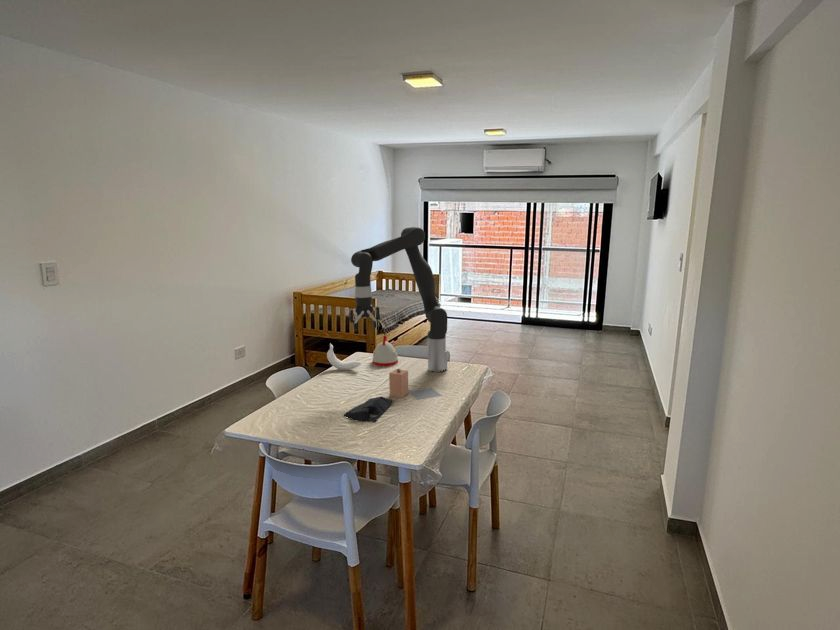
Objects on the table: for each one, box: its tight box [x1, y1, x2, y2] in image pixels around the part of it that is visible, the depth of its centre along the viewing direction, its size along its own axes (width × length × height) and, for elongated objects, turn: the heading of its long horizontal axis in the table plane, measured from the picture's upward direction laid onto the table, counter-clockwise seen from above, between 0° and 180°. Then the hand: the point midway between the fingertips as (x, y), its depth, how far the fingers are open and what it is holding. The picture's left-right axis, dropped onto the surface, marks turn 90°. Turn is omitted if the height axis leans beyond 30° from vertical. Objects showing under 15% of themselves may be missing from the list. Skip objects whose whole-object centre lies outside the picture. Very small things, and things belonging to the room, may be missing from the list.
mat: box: [408, 386, 443, 401], centre depth 224 cm, size 12×12×1 cm
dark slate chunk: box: [343, 396, 394, 423], centre depth 205 cm, size 15×22×5 cm
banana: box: [326, 342, 362, 371], centre depth 259 cm, size 5×19×15 cm, turn 79°
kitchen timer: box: [372, 334, 399, 367], centre depth 272 cm, size 14×14×15 cm
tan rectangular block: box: [388, 368, 409, 398], centre depth 222 cm, size 6×6×12 cm
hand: (365, 329), depth 232 cm, fingers open, 8 cm apart
